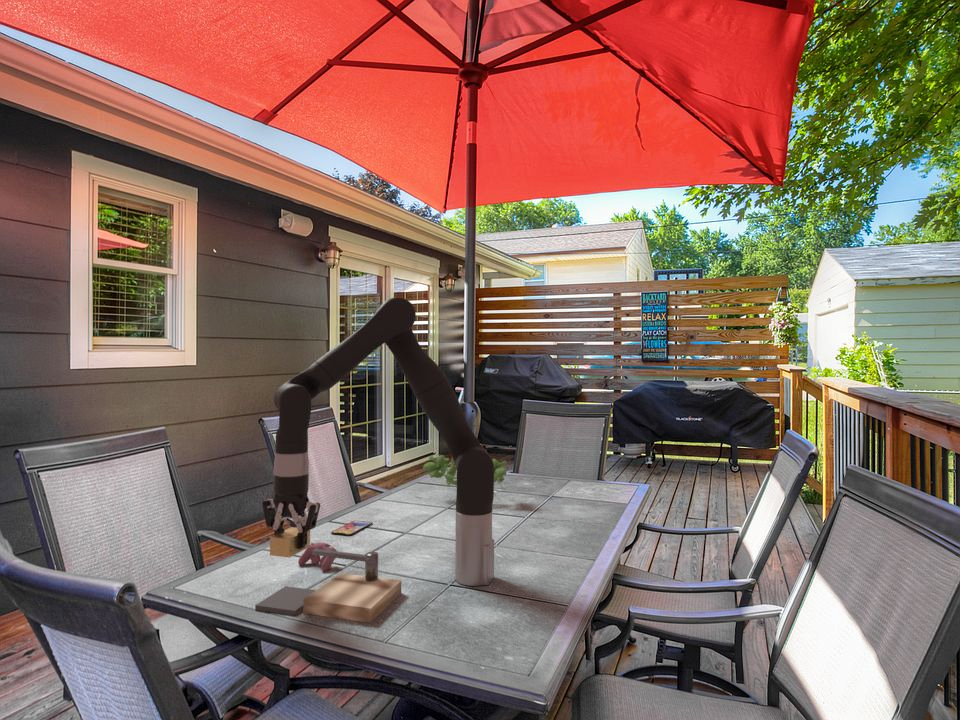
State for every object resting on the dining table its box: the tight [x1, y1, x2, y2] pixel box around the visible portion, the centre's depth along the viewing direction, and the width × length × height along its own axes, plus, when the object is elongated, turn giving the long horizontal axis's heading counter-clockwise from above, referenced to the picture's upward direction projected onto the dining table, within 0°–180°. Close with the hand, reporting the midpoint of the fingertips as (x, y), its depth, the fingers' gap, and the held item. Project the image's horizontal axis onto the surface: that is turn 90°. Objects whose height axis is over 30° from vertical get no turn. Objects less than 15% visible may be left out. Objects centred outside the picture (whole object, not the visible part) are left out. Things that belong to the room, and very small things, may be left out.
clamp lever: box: [312, 549, 379, 581], centre depth 137 cm, size 18×3×6 cm, turn 72°
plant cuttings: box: [422, 454, 508, 496], centre depth 225 cm, size 35×17×22 cm
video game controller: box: [297, 542, 338, 572], centre depth 152 cm, size 10×5×7 cm, turn 61°
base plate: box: [302, 572, 402, 624], centre depth 128 cm, size 16×16×3 cm
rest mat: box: [254, 585, 317, 616], centre depth 128 cm, size 10×11×1 cm
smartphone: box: [331, 520, 373, 537], centre depth 185 cm, size 7×1×15 cm
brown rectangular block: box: [269, 526, 311, 558], centre depth 128 cm, size 5×8×4 cm, turn 164°
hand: (290, 546), depth 128 cm, fingers closed on brown rectangular block, 5 cm apart
